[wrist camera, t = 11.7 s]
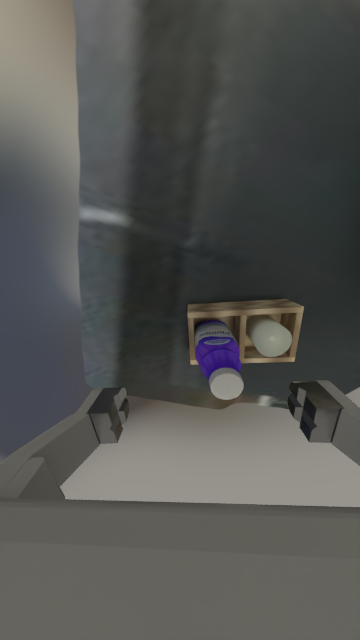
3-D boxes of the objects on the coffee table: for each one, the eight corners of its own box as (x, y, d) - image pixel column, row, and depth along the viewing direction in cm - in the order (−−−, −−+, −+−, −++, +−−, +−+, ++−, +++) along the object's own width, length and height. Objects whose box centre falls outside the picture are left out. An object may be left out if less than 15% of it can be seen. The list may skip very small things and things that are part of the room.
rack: (285, 298, 35) (304, 306, 29) (279, 346, 39) (294, 361, 33) (188, 304, 37) (187, 312, 31) (190, 349, 40) (190, 364, 35)
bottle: (227, 316, 36) (257, 365, 20) (228, 340, 38) (256, 403, 22) (192, 320, 37) (193, 370, 20) (195, 343, 39) (198, 407, 22)
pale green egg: (275, 312, 35) (294, 325, 28) (272, 338, 37) (289, 356, 30) (245, 314, 36) (257, 326, 29) (243, 340, 38) (254, 357, 31)
